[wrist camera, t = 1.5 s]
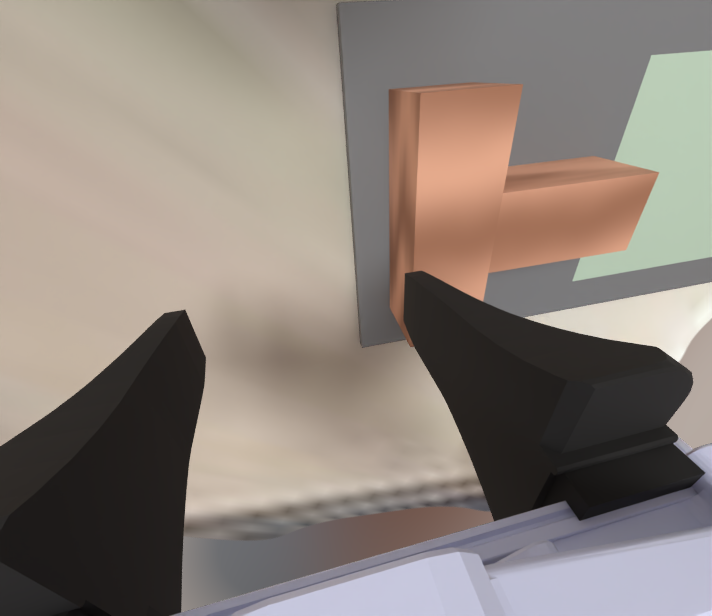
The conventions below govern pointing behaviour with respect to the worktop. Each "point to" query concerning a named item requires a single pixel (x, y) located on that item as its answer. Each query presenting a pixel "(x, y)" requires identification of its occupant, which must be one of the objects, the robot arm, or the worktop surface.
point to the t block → (492, 193)
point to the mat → (544, 128)
